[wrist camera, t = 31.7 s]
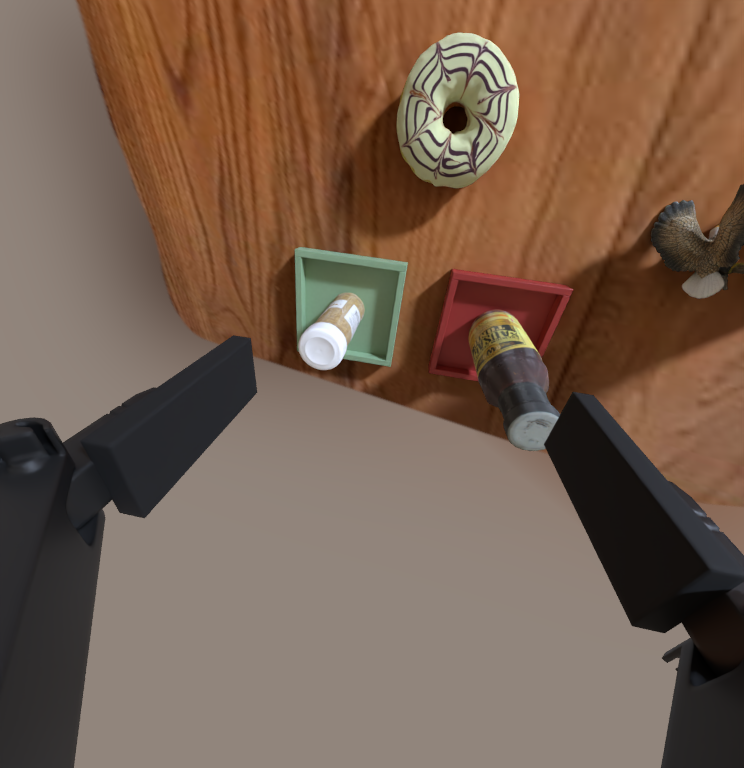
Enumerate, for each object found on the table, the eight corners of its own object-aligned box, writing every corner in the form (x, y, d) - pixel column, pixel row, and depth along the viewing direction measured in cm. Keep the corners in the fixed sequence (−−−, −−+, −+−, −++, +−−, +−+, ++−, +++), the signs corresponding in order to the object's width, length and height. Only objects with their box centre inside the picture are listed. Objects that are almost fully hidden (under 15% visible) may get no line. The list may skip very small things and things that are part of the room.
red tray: (451, 268, 36) (453, 272, 35) (566, 285, 36) (573, 289, 34) (428, 366, 44) (428, 373, 42) (523, 381, 43) (527, 389, 41)
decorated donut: (474, 204, 33) (479, 205, 30) (383, 163, 32) (379, 159, 29) (534, 79, 27) (549, 63, 24) (426, 26, 26) (426, 2, 23)
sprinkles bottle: (336, 286, 39) (301, 321, 28) (369, 298, 39) (348, 338, 28) (328, 318, 41) (293, 362, 30) (359, 329, 42) (336, 378, 30)
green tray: (300, 246, 38) (294, 249, 36) (407, 262, 37) (407, 265, 35) (302, 345, 45) (297, 351, 43) (391, 360, 44) (390, 366, 42)
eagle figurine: (778, 232, 29) (759, 156, 26) (793, 284, 27) (773, 206, 23) (672, 268, 36) (644, 211, 32) (674, 313, 33) (644, 255, 29)
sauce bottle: (498, 296, 37) (562, 376, 20) (527, 332, 38) (608, 433, 22) (454, 330, 40) (478, 425, 23) (483, 362, 41) (524, 471, 25)
